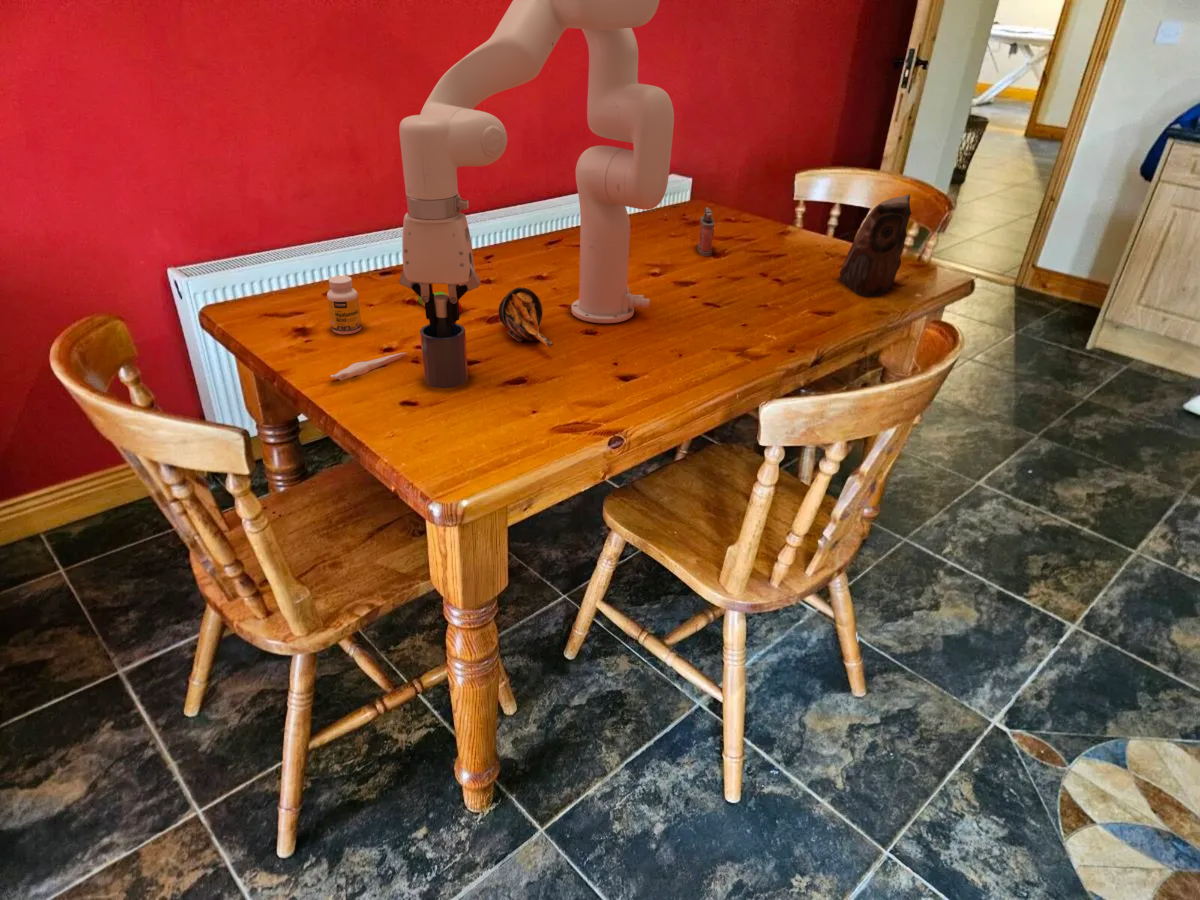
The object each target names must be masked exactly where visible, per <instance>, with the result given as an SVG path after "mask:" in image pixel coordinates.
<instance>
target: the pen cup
mask: <svg viewBox="0 0 1200 900" xmlns="http://www.w3.org/2000/svg"><path fill="white" fill-rule="evenodd" d="M451 334H452V337H446V338H438V334H437V323H436V325H435V326H434V327H432V326H430V323H428V324H426V325H424V326H422V327H421V328H420V330H419V337H420V349H421V358H422V370H423V379H424V382H425V384H427V385H428V386H430V387H433V388H438V389H450V388H456V387H459V386H462V385H464V384H465V383H466V382H467V381H468V379H469V371H468V369H469V367H468V354H467V353H468V352H467V339H466V337H467V336H466V329H465V327H464V325H461V324H460V323H457V322H456V323H455V325H454V327H451Z"/></svg>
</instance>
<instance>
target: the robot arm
mask: <svg viewBox="0 0 1200 900" xmlns="http://www.w3.org/2000/svg"><path fill="white" fill-rule="evenodd" d="M659 5H660V0H512V1H511V3H510V5H509V6H508V8H507V9H506V11H505V13H504V15H503V16H502V18H501V20H500V21H499V23H498V25H497V26H496V28H495V30H494V32H493V33H492V34H491V36H490V37H489V38H488V39H487V40H486V41H485V42H483V43H482V44H480V45H478V46H477V47H476V48H475V49H473V50H472V51H469V53H468V54H466V55H465V56H463V58H461V59H460V60H459V61H457V62H456V63H454V64H453V66H451V67H450V68H449V69H447V70H446V72H445V73H444V74H443V75H442V76H441V77H440V79H439V80H438V82H437V83H436V84H435V86H434V87H433V89H432V91H430V92H431V93H430V94H429V96H428V97H427V99H426V100H425V102H424V105H423V107H422V109H421V110H420V114H413V115H409V116H406V117H404V118H402V120H401V121H400V123H399V128H398V132H399V133H398V134H399V145H400V151H401V153H400V154H401V162H402V163H401V164H402V172H403V181H404V189H405V200H406V210H407V211H406V213H405V214H404V216H403V221H402V222H403V224H402V242H401V243H402V244H401V245H402V246H401V248H402V272H401V274H400V276H399V280H398V282H399V284H400V285H402V286H403V287H405V288H408V289H411V290H412V291H413V292H414V293H415V294H416V295H417V296H418V297H419V296H420V297H421V299H422V301H423V302H425V307H424V310H425V311H424V312H425V319H426V320H429V324H430V326H432V327H434V326H435V325H436V315H435V305H434V294H433V293H434V284H435V285H447V292H448V295H449V299H448V303H447V317H448V326H449V327H454V325H455V323H457V321H459V320H460V318H461V317H460V316H461V313H459V303H460V302H459V301H460V299H461V298H462V297H463V296H464V295H465V294H466V293H468V292H471V291H473V290H475V289H478V288H479V287H480V285H481V283H482V282H481V279H480V277H479V276H478V273H477V272H476V270H475V261H474V252H473V244H472V239H471V234H470V228H469V224H468V220H467V216H466V214H465V213H463V212H461V211H464V210H469V208H470V202H469V200H468V199H464V198H461V196H460V192H459V188H458V187H459V185H458V172H457V169H458V168H460V167H461V168H463V167H464V168H465V167H485V166H490V165H491V164H493V163H495V162H497V161H499V159H500V158H501V157H502V156H503V154H504V153H505V151H506V149H507V144H508V134H507V130H506V127H505V125H504V124H503V123H502V121H501V120H500V119H499V118H498V117H497V116H495V115H494V114H491V113H489V112H486V111H484V110H483V111H482V110H477V109H475V108H476V107H477V106H478V105H480V103H482V102H483V101H485V100H486V99H488V98H490V97H492V96H493V95H496V94H498V93H501V92H504V91H507V90H509V89H510V90H511V89H513V88H516V87H519V86H522V85H524V84H527V83H529V82H531V81H532V80H534V79H536V78H537V77H538V75H539V74H540V73H541V71H542V70H543V67H544V65H545V64H546V62H547V61H548V59H549V57H550V55H551V53H552V52H553V50H554V49H555V46H556V45H557V43H558V42H559V40H560V38H562V35H563V34H564V32H565V31H566V30H567V29H577V30H580V29H581V31H582V33H583V35H584V38H585V40H586V44H587V47H588V48H587V50H588V79H587V103H586V119H587V126H588V129H590V131H591V132H592V133H593V134H594V135H596V136H598V137H602V138H605V139H609V140H614V141H619V142H624V143H631V144H633V145H632V146H633V150H631V149H627V148H623V147H618V146H613V145H612V146H611V145H594V146H590V147H588V148H587V149H585V150H584V151H583V152H582V153H581V154H580V156H579V157H578V159H577V162H576V166H575V183H576V190H577V194H578V201H579V215H580V218H579V219H580V220H579V221H580V223H579V224H580V226H579V227H580V228H579V231H580V232H579V239H580V240H579V283H578V284H579V287H578V290H579V291H578V299H576V300H575V301H573V302H572V304H571V306H570V310H571V311H570V312H571V315H572V316H574V317H575V318H577V319H579V320H581V321H584V322H588V323H594V324H615V323H616V324H617V323H621V322H625V321H627V320H629V319H631V318H633V316H634V313H635V308H640V309H650V301H651V300H650V298H647V297H644V294H633V293H630V287H629V285H628V282H629V262H630V243H631V242H630V241H631V221H630V216H629V213H628V210H627V207H628V208H632V209H637V210H642V211H643V210H645V211H646V210H647V211H648V210H653V209H655V208H656V207H658V206H659V205H660V204H661V203H662V201H663V200H664V197H665V196H666V192H667V189H668V183H669V177H670V169H671V168H670V167H671V158H672V146H673V138H674V125H675V113H674V105H673V102H672V99H671V97H670V95H669V93H667V91H666V90H664V89H663V88H661V87H659V86H656V85H652V84H645V83H640V82H639V46H638V41H637V38H636V34H635V33H634V30H633V28H640V27H642V26H644V25H646V24H648V23H649V22H650V21H651V20H652V19H653V17H654V16H655V14H656V13H657V10H658V8H659Z"/></svg>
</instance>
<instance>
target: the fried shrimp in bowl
mask: <svg viewBox="0 0 1200 900" xmlns="http://www.w3.org/2000/svg"><path fill="white" fill-rule="evenodd" d="M543 314H544V313H543V305H542V301H541V300H540V297H538V295H537V294H536V293H535V292H534V291H533V290H531V289H530V288H527V287H522V286H521V287H516V288H513V289H511V290H510V291H509V292H507V294H506V295H505V296H504V297H503V298H502V299H501V302H500V303H499V307H498V316H499V320H500V323H502V325H503V326H504V327H505V329H507V330H508V334H509V335H510V336H511V337H512V338H513V339H514V340H516V341H517V342H520V343H522V342H523V341H524V340H526V341H528V342H531V343H533V342H537V341H539V342H540V343H542V344H543V345H544V346H545V347H546V348H549V349H552V346H553V345H554V342H553V341H552V340H551V339H550V338H548V337H547V336H544V335H543V334H542V333H540V328H539V327H540V326H541V323H542V319H543Z"/></svg>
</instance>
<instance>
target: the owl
mask: <svg viewBox="0 0 1200 900" xmlns="http://www.w3.org/2000/svg"><path fill="white" fill-rule="evenodd" d="M910 200H911V194H910V193H909V194H905V195H902V196H897V197H893V198H889V199H886V200H883V201H881V202H880V203H879V204H878V205H876V206H875V207H874V208H873V209H872V210H871V211H870V212H869V214H867V217H866V218H865V220H864V221H863V223H862V226H861V228H860V229H859V231H858V233H857V234H856V237H855V239H854V240H853V242H852V244H851V246H850V248H849V250H848V252H847V254H846V257H845V260H844V262H843V265H842V267H841V268H840V270H839V276H838V278H837V280H838V281H840V283H843V285H845V286H847V287H848V288H849V289H850V290H852V291H853V292H854V293H855V294H856V295H859V296H861V297H865V298H870V297H871V298H873V297H882V296H883V295H884V294H888V293H889V291H893V286H894V284H895V280H896V276H897V273H898V271H899V269H900V268H901V266H902V265H901V264H902V259H901V256H902V254H903V251H904V248H905V242H906V238H907V227H908V225H909V220H910V217H911V215H912V210H911V202H910Z"/></svg>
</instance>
